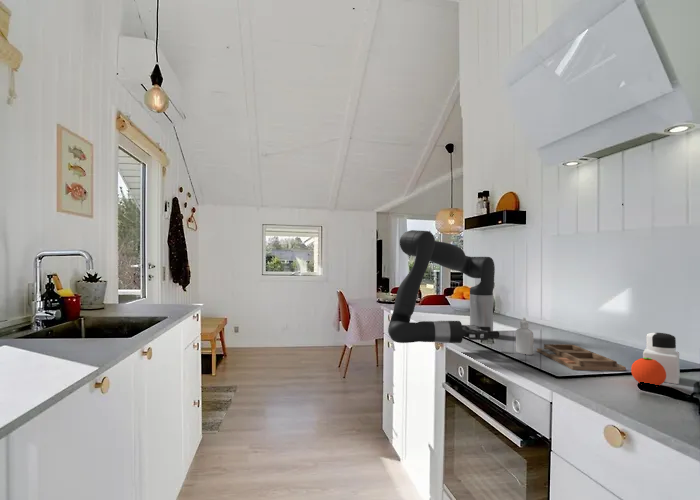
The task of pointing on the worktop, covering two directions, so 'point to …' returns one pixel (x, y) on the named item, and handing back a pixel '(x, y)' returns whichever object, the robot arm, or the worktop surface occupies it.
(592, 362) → the wooden compartment tray
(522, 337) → the eye dropper bottle
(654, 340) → the medicine bottle
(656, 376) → the clementine
